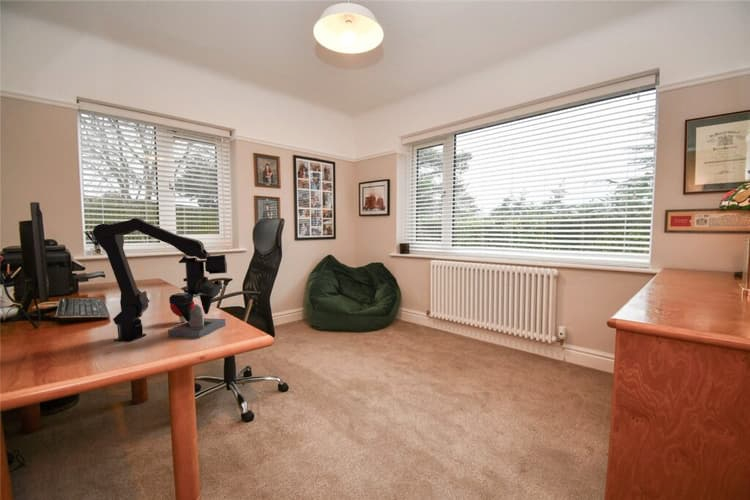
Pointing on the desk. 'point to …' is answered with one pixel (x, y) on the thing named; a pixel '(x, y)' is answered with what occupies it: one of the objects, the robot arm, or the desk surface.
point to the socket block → (196, 329)
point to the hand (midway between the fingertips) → (197, 317)
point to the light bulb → (177, 312)
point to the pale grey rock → (196, 317)
